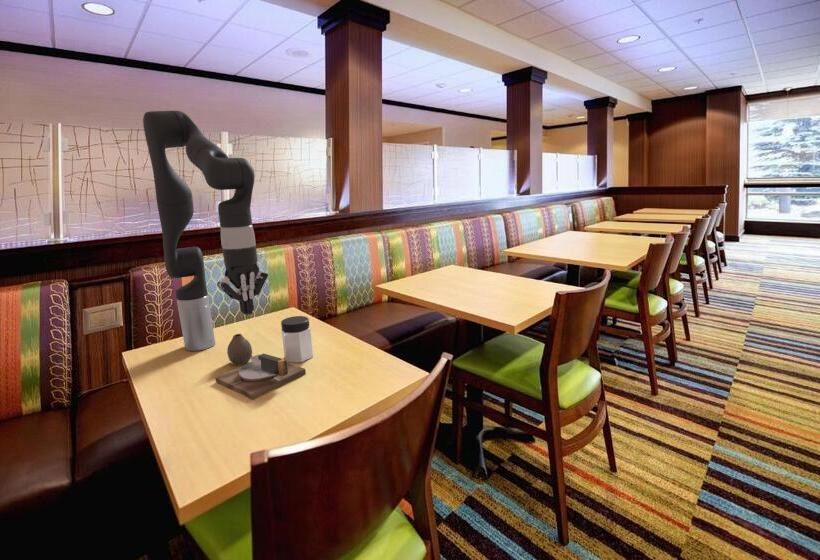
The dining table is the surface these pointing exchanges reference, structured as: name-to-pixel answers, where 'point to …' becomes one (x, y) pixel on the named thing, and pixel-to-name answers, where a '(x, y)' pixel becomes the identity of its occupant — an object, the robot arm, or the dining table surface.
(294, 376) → the base
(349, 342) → the dining table surface
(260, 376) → the knob
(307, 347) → the jar
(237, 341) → the vase
